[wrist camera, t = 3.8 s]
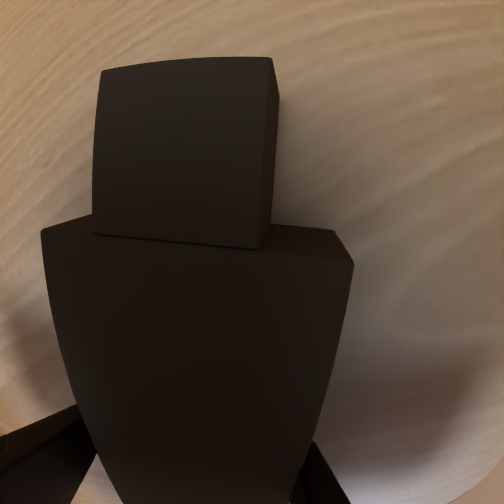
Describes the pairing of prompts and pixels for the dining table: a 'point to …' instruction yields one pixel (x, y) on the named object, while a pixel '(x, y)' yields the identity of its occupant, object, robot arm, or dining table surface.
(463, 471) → the dining table surface
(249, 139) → the black usb flash drive
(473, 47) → the dining table surface
